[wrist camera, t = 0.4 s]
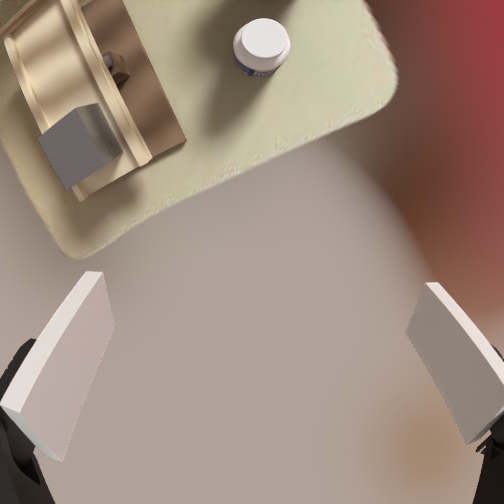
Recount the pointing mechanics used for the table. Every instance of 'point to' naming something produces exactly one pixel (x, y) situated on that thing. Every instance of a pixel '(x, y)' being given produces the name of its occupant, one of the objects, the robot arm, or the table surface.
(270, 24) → the pill bottle
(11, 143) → the table surface
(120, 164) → the balance beam
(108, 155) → the block
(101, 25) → the stand
